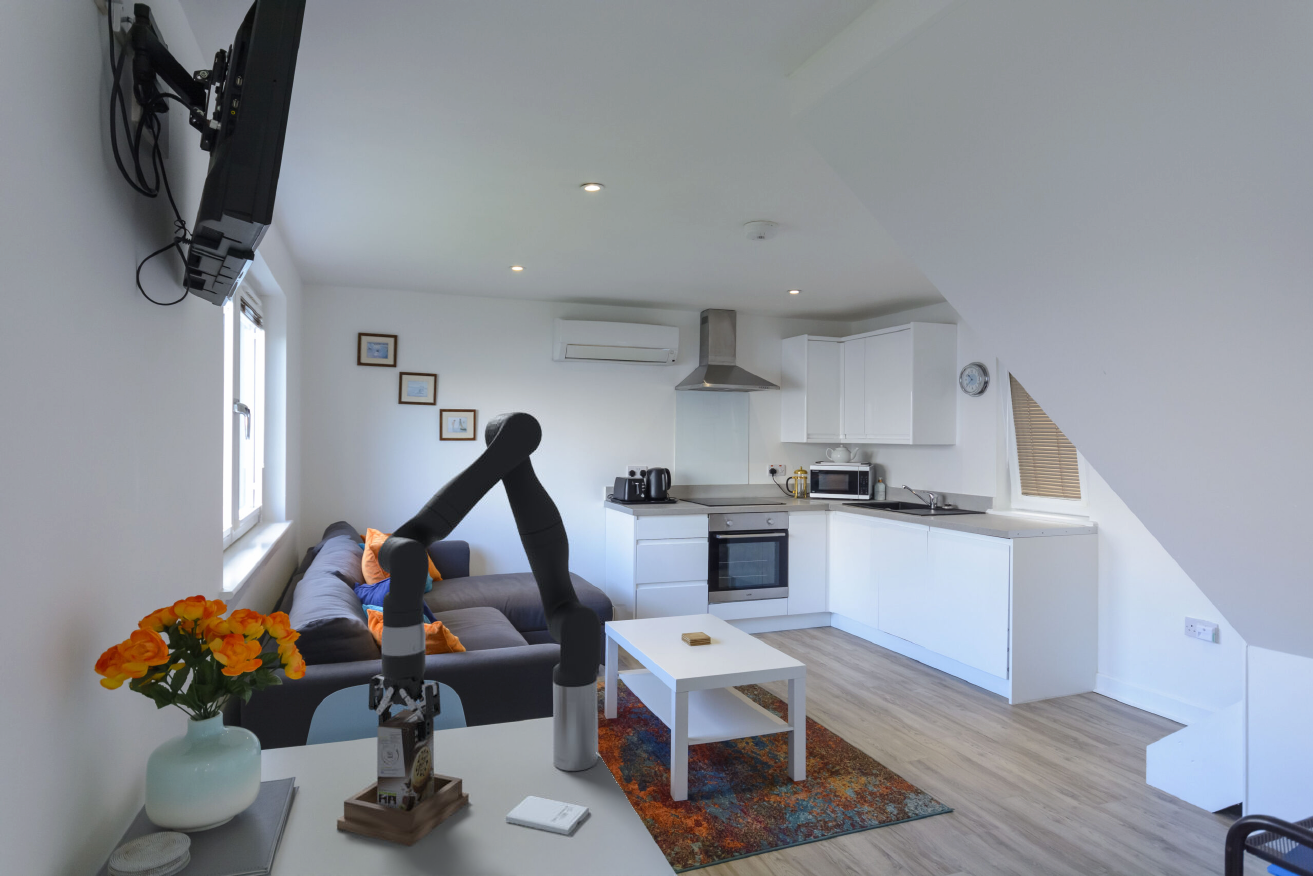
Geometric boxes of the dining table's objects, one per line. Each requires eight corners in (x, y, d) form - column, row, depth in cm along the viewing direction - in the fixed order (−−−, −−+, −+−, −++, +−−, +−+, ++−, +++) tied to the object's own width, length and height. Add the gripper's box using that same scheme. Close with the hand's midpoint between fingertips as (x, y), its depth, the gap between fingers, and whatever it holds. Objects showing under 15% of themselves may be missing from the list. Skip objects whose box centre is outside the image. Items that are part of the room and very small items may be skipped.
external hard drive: (529, 803, 138) (589, 815, 134) (505, 824, 130) (567, 838, 126) (529, 794, 138) (589, 806, 133) (505, 815, 130) (567, 828, 126)
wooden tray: (400, 787, 143) (400, 764, 143) (468, 801, 138) (468, 777, 138) (337, 828, 129) (336, 802, 129) (410, 846, 123) (410, 819, 123)
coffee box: (408, 821, 128) (408, 729, 128) (376, 817, 129) (375, 726, 129) (435, 796, 137) (435, 709, 137) (404, 792, 138) (404, 707, 138)
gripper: (449, 646, 134) (449, 734, 134) (387, 638, 139) (387, 724, 139) (421, 657, 127) (422, 751, 127) (357, 649, 132) (358, 739, 132)
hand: (404, 737), depth 133 cm, fingers open, 8 cm apart
